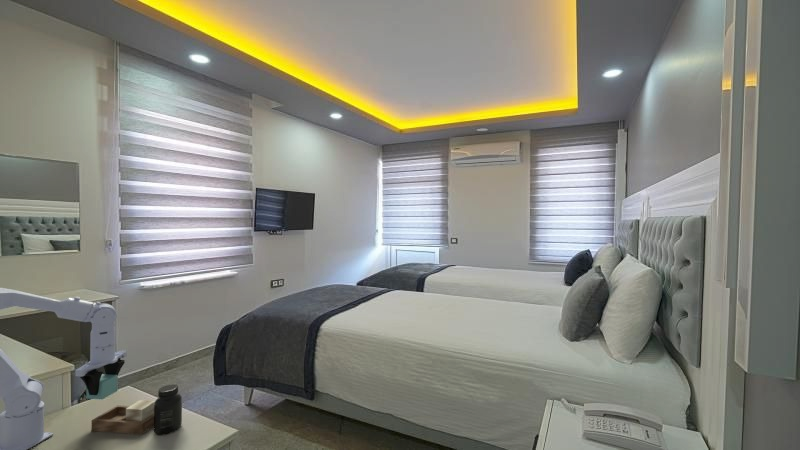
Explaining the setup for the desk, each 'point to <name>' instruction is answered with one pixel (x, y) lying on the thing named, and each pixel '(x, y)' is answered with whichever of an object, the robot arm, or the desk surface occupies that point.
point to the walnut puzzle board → (120, 422)
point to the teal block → (105, 387)
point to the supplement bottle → (167, 410)
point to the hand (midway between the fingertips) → (102, 389)
